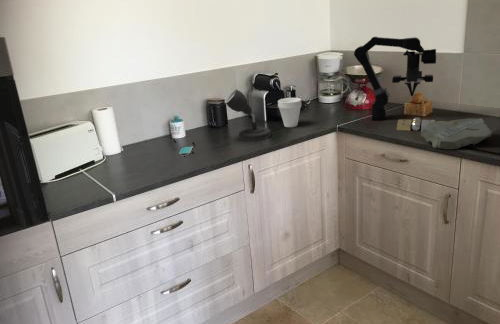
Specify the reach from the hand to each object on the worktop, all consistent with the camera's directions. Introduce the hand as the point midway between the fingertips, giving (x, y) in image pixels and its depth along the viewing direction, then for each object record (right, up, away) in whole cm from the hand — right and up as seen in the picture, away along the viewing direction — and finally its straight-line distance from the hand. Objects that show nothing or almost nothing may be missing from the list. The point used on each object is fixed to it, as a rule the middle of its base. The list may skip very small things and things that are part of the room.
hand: (411, 96), depth 215 cm
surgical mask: (-110, -28, -14) cm, 115 cm away
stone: (+5, -25, -36) cm, 44 cm away
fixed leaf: (+1, -17, -12) cm, 21 cm away
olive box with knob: (-5, -17, -10) cm, 20 cm away
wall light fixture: (-81, -21, -2) cm, 84 cm away
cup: (-59, -14, +13) cm, 62 cm away
